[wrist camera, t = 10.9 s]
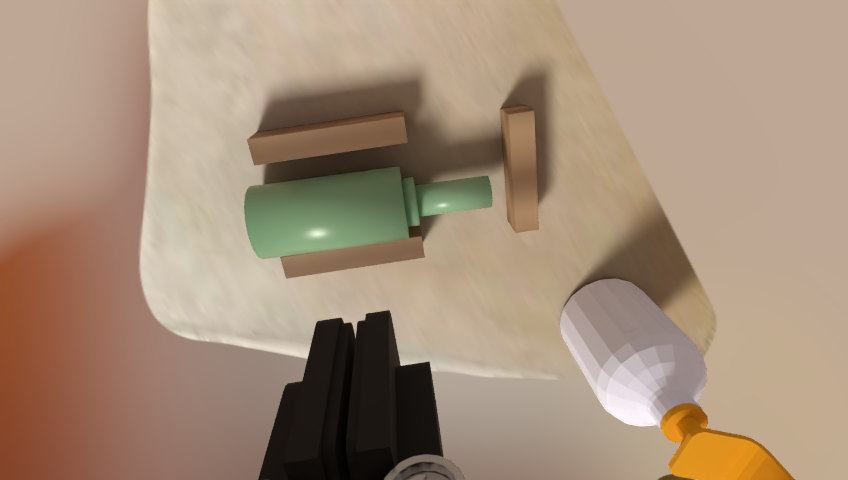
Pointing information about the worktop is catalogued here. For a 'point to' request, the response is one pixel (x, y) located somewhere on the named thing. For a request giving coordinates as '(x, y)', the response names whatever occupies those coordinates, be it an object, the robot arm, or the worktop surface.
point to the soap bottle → (655, 380)
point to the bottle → (350, 209)
